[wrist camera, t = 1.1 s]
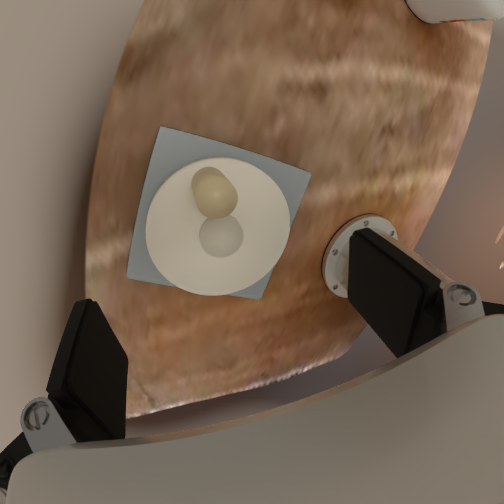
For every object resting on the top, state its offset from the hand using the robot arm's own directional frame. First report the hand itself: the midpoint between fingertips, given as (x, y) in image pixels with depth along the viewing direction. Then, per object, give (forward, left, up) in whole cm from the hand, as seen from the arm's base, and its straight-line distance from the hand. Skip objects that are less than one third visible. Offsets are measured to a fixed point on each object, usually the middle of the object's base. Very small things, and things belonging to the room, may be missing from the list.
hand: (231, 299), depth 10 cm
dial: (-4, +4, -19) cm, 20 cm away
